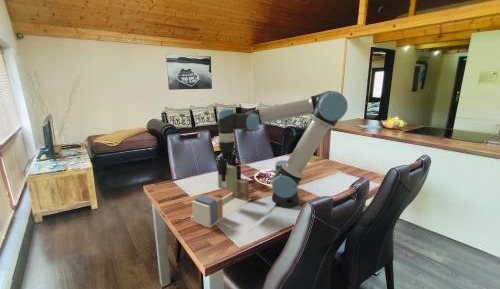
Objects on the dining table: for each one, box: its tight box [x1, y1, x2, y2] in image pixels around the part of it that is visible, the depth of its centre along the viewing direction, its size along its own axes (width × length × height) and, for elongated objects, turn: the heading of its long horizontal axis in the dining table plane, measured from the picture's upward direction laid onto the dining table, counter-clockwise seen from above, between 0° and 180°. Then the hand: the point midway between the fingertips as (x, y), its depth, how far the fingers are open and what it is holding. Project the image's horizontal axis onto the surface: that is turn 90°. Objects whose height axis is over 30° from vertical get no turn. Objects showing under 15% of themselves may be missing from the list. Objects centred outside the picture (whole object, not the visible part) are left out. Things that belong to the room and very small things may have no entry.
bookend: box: [233, 179, 250, 201], centre depth 141 cm, size 9×3×10 cm, turn 57°
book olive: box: [217, 164, 238, 193], centre depth 129 cm, size 9×4×12 cm, turn 57°
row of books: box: [190, 191, 252, 229], centre depth 129 cm, size 12×34×11 cm, turn 147°
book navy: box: [194, 194, 217, 225], centre depth 118 cm, size 9×4×11 cm, turn 57°
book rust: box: [205, 194, 223, 220], centre depth 122 cm, size 8×4×10 cm, turn 57°
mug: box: [236, 164, 242, 180], centre depth 170 cm, size 9×12×9 cm
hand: (227, 185), depth 130 cm, fingers closed on book olive, 4 cm apart
